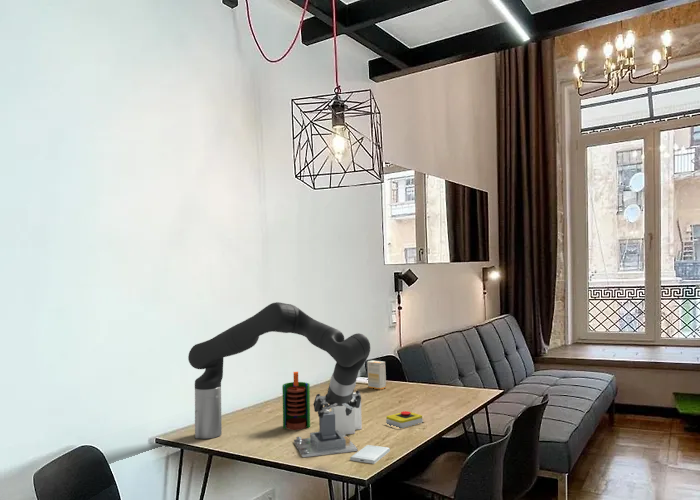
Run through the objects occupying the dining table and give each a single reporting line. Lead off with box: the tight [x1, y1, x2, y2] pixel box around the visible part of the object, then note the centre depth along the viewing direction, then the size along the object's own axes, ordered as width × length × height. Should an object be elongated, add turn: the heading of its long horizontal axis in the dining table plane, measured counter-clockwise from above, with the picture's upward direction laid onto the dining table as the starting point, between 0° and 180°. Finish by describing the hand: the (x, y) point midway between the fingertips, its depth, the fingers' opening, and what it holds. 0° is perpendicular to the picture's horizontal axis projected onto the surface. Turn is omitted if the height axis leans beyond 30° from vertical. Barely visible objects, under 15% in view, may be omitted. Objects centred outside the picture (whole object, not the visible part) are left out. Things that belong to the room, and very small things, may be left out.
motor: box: [281, 371, 311, 431], centre depth 202 cm, size 10×9×20 cm
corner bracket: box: [330, 391, 363, 435], centre depth 197 cm, size 11×11×12 cm
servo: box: [318, 409, 336, 441], centre depth 179 cm, size 4×6×11 cm
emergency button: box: [385, 410, 424, 429], centre depth 203 cm, size 9×4×15 cm
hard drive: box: [349, 444, 391, 465], centre depth 169 cm, size 2×8×12 cm
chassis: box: [293, 430, 359, 458], centre depth 178 cm, size 18×16×3 cm
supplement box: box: [366, 359, 387, 391], centre depth 265 cm, size 8×5×13 cm, turn 46°
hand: (333, 414), depth 170 cm, fingers open, 8 cm apart
